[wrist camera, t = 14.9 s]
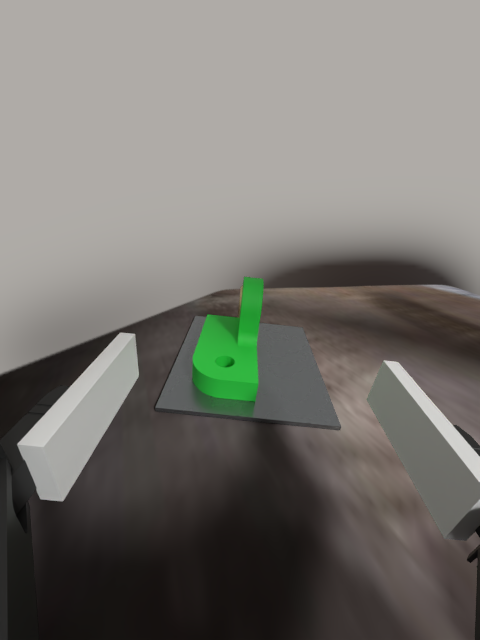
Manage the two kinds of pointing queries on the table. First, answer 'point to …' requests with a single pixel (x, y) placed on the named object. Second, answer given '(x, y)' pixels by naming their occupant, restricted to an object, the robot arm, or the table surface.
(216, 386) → the mechanical part
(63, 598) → the table surface
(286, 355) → the bolt plate
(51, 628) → the table surface
